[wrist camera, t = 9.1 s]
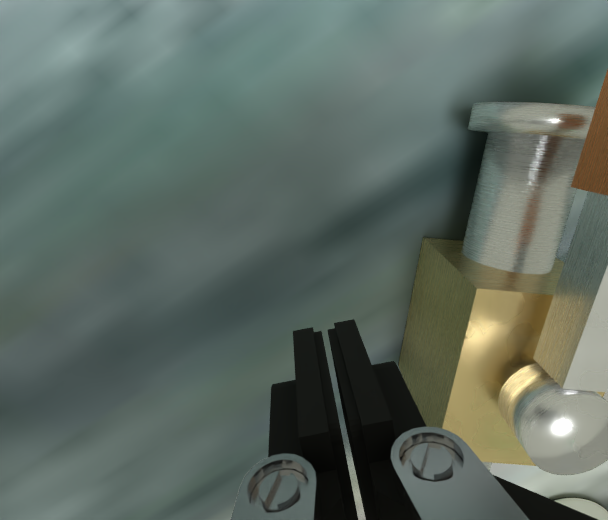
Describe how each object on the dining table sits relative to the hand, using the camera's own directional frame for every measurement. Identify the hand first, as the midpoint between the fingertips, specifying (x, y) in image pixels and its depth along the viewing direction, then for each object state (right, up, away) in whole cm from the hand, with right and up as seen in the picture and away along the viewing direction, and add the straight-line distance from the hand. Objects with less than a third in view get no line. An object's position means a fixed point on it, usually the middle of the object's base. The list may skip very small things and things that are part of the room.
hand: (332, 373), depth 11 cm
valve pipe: (+10, 0, +15) cm, 18 cm away
